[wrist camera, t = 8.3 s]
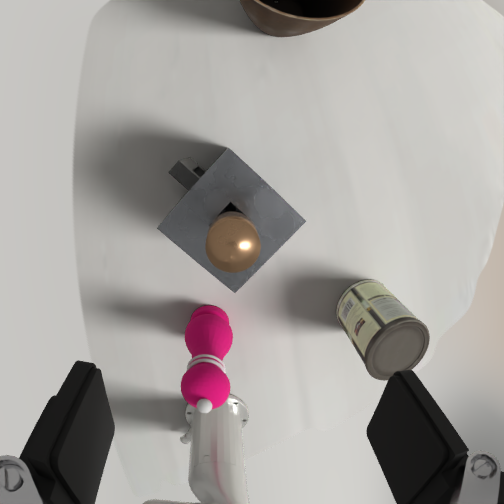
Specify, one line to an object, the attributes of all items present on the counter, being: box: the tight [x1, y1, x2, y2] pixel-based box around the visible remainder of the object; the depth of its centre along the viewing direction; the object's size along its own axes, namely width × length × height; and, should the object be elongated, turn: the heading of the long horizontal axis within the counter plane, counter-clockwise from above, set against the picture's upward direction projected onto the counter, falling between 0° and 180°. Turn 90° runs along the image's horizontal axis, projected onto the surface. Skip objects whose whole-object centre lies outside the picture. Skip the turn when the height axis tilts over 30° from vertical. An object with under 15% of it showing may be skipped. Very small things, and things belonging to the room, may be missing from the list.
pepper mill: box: [181, 305, 233, 413], centre depth 42 cm, size 7×7×20 cm
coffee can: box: [336, 280, 430, 380], centre depth 46 cm, size 10×10×14 cm
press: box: [157, 148, 306, 293], centre depth 37 cm, size 10×13×16 cm
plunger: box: [205, 202, 261, 273], centre depth 31 cm, size 7×7×17 cm
